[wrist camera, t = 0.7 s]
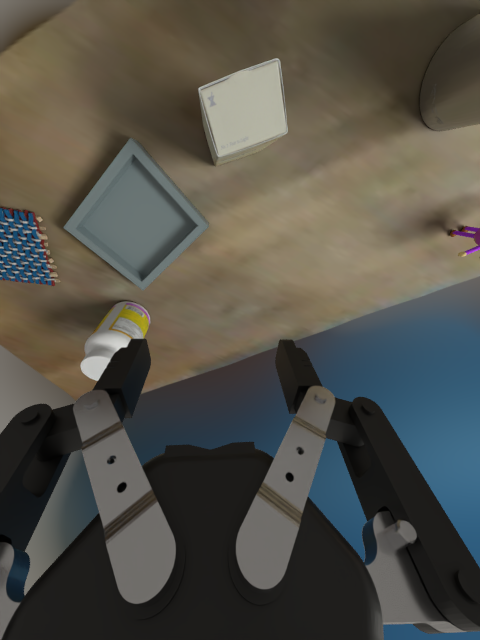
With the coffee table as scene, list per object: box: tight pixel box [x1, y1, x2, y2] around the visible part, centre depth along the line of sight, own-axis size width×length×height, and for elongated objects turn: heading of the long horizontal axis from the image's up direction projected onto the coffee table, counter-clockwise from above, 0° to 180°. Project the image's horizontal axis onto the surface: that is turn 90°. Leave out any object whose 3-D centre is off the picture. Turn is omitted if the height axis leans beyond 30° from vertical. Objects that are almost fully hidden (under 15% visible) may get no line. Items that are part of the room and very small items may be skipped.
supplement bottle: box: [81, 301, 150, 381], centre depth 33 cm, size 7×7×13 cm
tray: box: [63, 138, 209, 290], centre depth 30 cm, size 14×12×2 cm
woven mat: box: [0, 207, 60, 286], centre depth 30 cm, size 10×11×2 cm
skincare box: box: [198, 58, 288, 166], centre depth 21 cm, size 6×4×12 cm
